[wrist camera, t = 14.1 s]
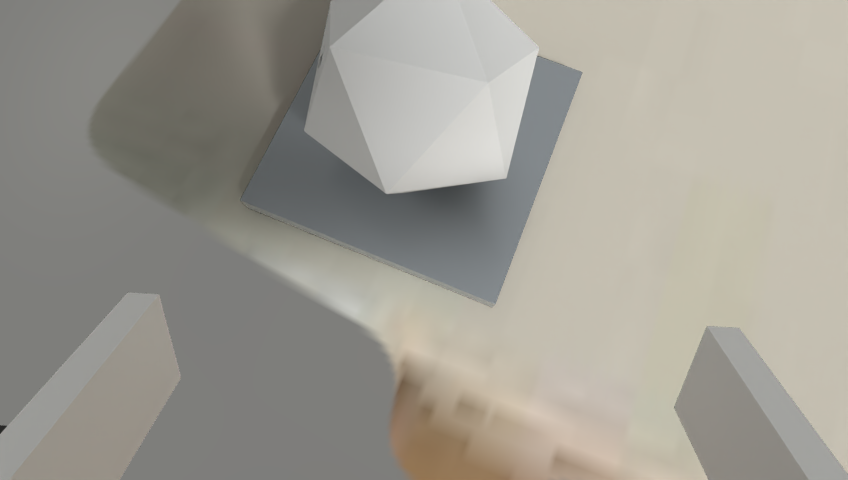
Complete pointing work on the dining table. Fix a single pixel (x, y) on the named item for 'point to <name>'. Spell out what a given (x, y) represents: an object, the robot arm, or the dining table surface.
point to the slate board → (416, 196)
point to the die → (421, 91)
